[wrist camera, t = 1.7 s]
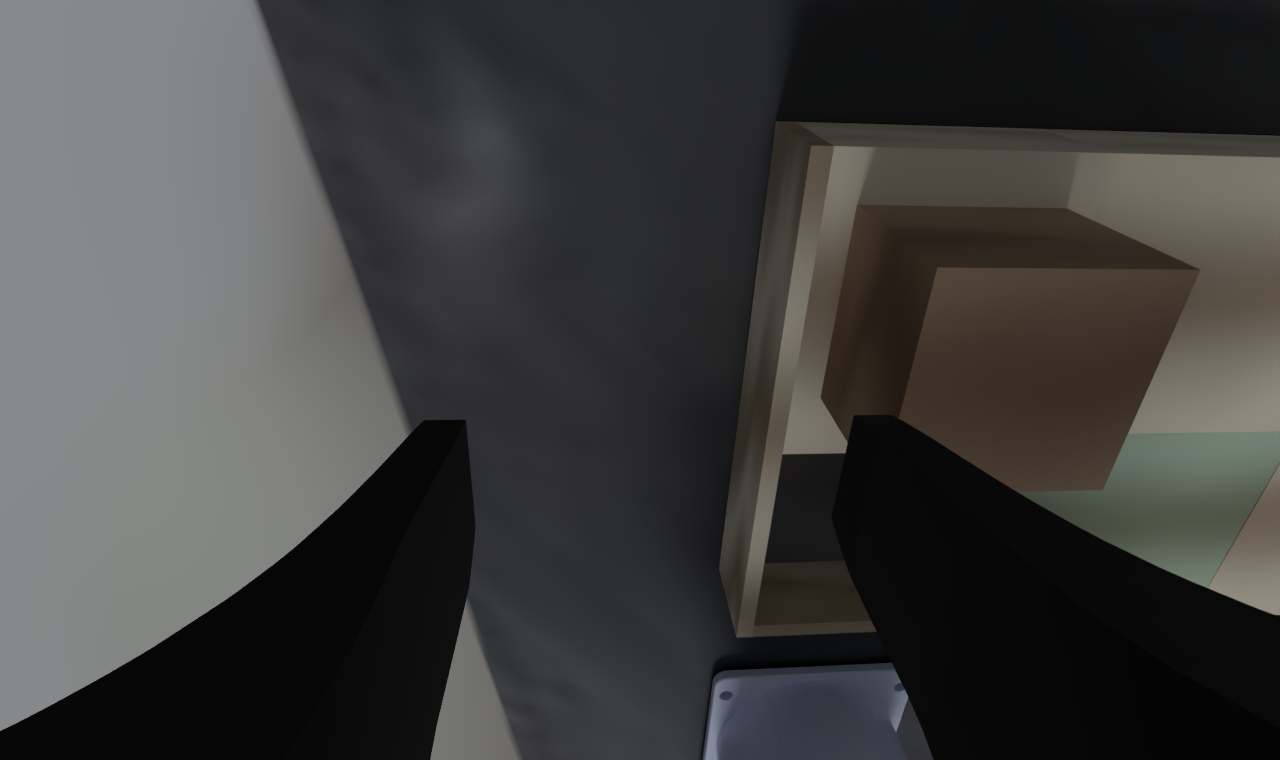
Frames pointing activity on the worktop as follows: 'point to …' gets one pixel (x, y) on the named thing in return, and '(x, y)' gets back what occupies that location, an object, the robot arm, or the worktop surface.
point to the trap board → (1168, 416)
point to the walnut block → (1003, 335)
